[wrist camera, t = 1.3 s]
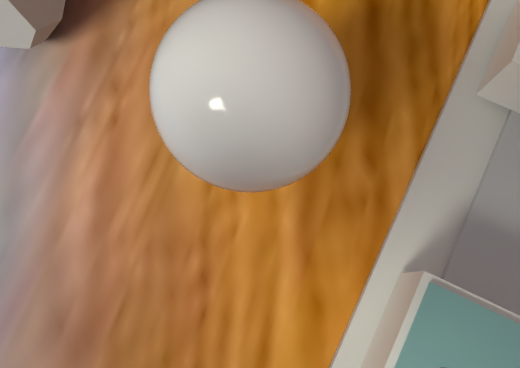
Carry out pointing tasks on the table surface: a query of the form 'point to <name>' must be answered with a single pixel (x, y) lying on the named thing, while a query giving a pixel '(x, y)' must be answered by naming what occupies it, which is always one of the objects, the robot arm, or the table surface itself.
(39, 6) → the electronic device
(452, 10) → the table surface
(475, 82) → the module rail
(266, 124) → the lightbulb
